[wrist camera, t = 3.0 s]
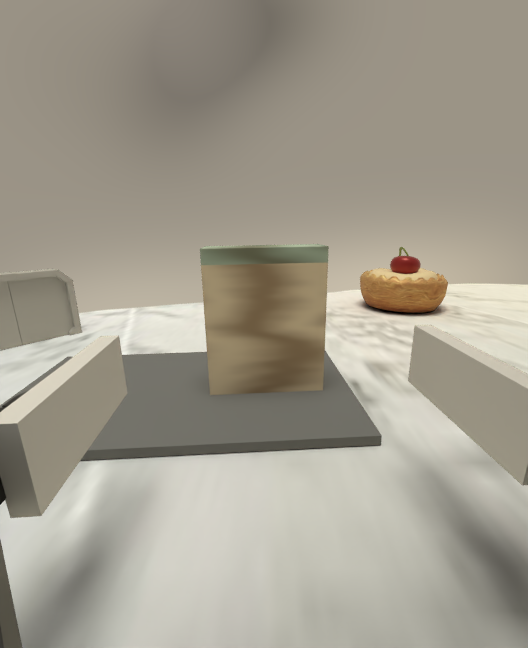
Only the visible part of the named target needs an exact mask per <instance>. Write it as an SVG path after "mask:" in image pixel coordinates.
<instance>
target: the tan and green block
mask: <svg viewBox="0 0 528 648" xmlns="http://www.w3.org/2000/svg"><path fill="white" fill-rule="evenodd" d="M200 256H201V271H202V285H203V299H204V314H205V329H206V343H207V358H208V372H209V387H210V395H224V394H247V393H271V392H294V391H318V390H323V377H324V351H325V325H326V298H327V272H328V246H324V245H319V244H308V245H307V244H306V245H256V246H207V247H203V248H201V249H200Z"/></svg>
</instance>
